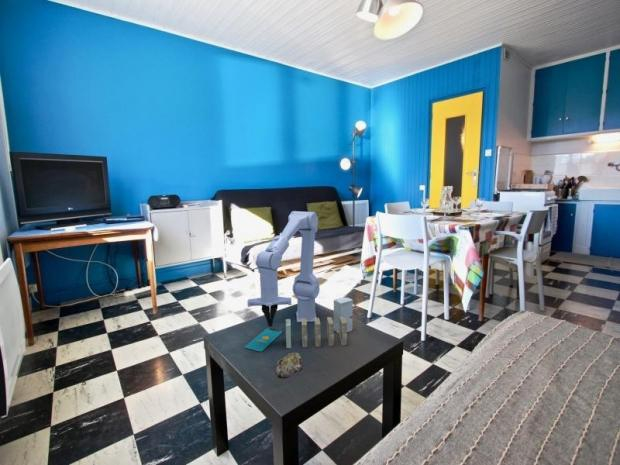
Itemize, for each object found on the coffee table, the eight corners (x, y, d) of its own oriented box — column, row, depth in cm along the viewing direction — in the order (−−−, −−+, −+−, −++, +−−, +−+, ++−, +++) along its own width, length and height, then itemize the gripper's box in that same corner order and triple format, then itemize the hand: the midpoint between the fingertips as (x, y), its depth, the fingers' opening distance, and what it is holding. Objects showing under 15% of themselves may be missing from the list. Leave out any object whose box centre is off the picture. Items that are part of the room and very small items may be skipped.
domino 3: (315, 346, 104) (315, 324, 103) (314, 339, 109) (314, 317, 108) (320, 346, 104) (320, 324, 103) (318, 338, 109) (318, 317, 108)
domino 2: (302, 347, 104) (302, 325, 102) (301, 339, 108) (301, 318, 107) (307, 346, 104) (306, 324, 102) (306, 339, 109) (306, 318, 107)
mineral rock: (282, 349, 98) (304, 347, 95) (286, 362, 99) (308, 360, 96) (265, 369, 89) (289, 368, 85) (270, 383, 89) (294, 382, 86)
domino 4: (329, 345, 104) (329, 323, 103) (327, 338, 109) (327, 317, 108) (333, 345, 104) (333, 323, 103) (331, 338, 109) (331, 317, 108)
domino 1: (286, 348, 103) (285, 325, 102) (286, 340, 108) (285, 319, 107) (291, 347, 103) (290, 325, 102) (290, 340, 108) (290, 318, 107)
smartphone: (243, 347, 103) (266, 327, 117) (243, 349, 103) (266, 329, 117) (261, 351, 100) (283, 331, 114) (261, 354, 100) (283, 333, 114)
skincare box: (340, 335, 111) (340, 303, 110) (332, 330, 115) (332, 299, 113) (353, 330, 115) (353, 299, 113) (345, 325, 119) (345, 296, 117)
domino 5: (342, 345, 105) (342, 323, 103) (339, 337, 109) (339, 316, 108) (346, 344, 105) (346, 323, 103) (343, 337, 110) (344, 316, 108)
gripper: (245, 291, 97) (247, 331, 100) (291, 290, 98) (292, 329, 101) (248, 284, 104) (249, 322, 106) (290, 283, 105) (291, 320, 108)
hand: (270, 325), depth 104 cm, fingers closed
